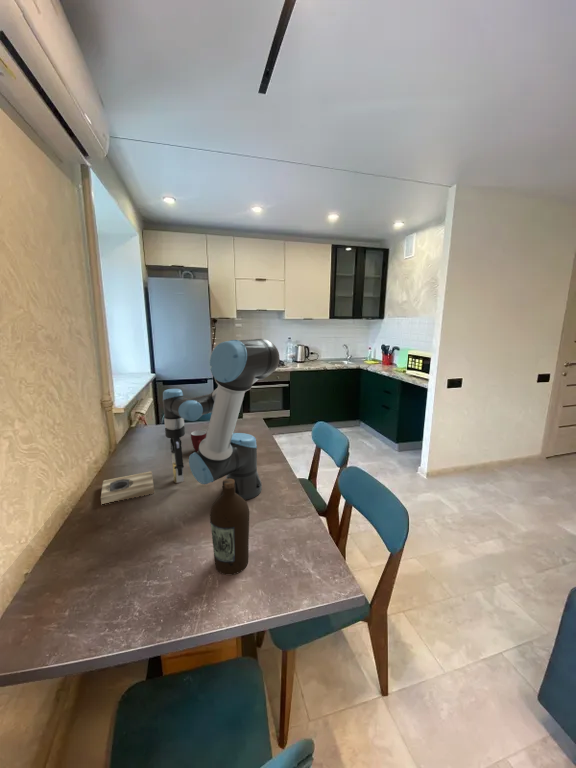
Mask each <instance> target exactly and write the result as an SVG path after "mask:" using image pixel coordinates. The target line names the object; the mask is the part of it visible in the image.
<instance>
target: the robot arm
mask: <svg viewBox="0 0 576 768" xmlns="http://www.w3.org/2000/svg"><path fill="white" fill-rule="evenodd" d="M279 364H280V352H279V350H278V348H277V346H276V345H275V344H274V343H273V342H271V341H270V340H268V339H264V338H254V339H241V340H240V339H230V340H226V341H222V342H220V343H218V344H216V346H214V348H213V350H212V352H211V354H210V359H209V366H210V367H211V368H210V372H211V375H212V376H213V378H214V380H215V381H214V382H215V383H216V385H217V388H215V389H214V390H213V391H212V392H210V393H209V394H203V395H199V396H195V397H190V398H187V397H184V393H183V391H182V389H180V388H168V389H165V390H163V391H162V405H163V416H164V417H163V420H164V427H165V428H164V430H165V431H164V432H165V433H164V435H165V437H166V438H167V439H169V443H170V450H171V451H170V452H171V462H172V463H171V464H172V468H173V463H174V462H176V467H174V469H176V480H177V483H176V484H179V483H178V482H181V483H183V482H185V481H184V480H185V478H184V467H185V465H184V459H183V452H182V451H183V450H182V440H181V438H183V437H184V436H185V434H186V431H185V430H186V429H185V421H189V422H195V421H197V420H198V419H200V418H201V417H202V416H203V415H207V414H210V417H209V418H210V419H209V422H208V427H207V430H206V431H207V434H206V438H205V439H203V440H202V441H201V442H200V444H199V449H198V451H197V452H196V451H194V452H193V453H190V455H189V457H188V466H189V469H190V471H191V472H190V473H192V476H193V477H194V478H195V480H196V482H198V483H200V484H202V485H207V484H210V483H213V482H215V481H217V480H220V479H222V478H223V477H226V478H225V479H234V481H235V493H236V494H238V495H239V496H241V497H242V498H243V499H244V500H245V501H247V500H250V499H254V498H256V497H257V496H258V495H260V494H261V493H262V480H261V478H260V476H259V472H258V455H257V454H258V453H257V452H258V450H257V449H258V446H257V439H256V437H255V436H254V435H252V434H249V433H244V432H234V431H235V428H236V425H237V422H238V418H239V415H240V414H239V413H240V411H241V408H242V404H243V401H244V397H245V393H246V392H247V391H250V390H252V389H251V388H252V387H253V385H254V384H255V383H256V382H257V381H258V380H265V379H266V378H268V377H269V376H270V375H271V374H273V373H274V372H275V371H276V370H277V368H278V366H279Z"/></svg>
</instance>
